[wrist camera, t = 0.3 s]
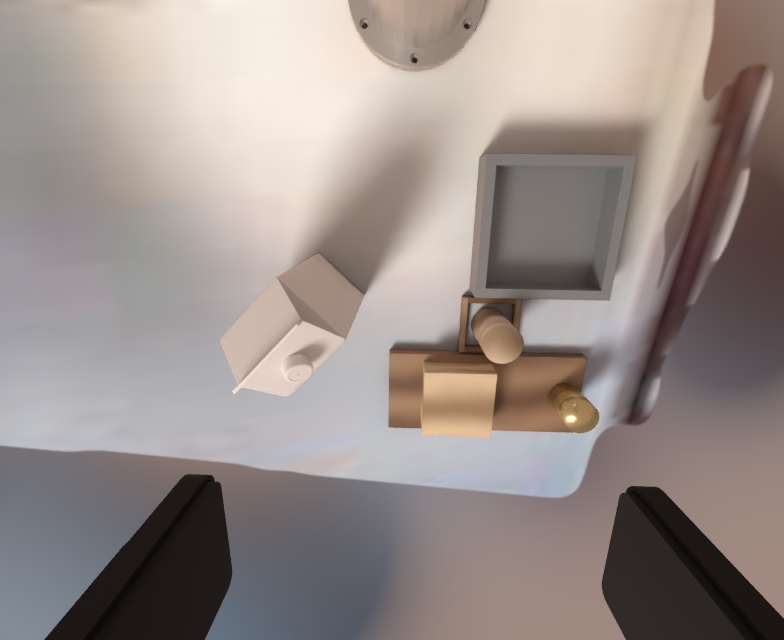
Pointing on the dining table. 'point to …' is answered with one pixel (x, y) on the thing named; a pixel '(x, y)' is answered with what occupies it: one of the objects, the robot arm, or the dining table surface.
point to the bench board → (513, 387)
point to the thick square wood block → (458, 399)
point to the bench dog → (573, 408)
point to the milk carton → (291, 327)
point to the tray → (549, 225)
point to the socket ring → (472, 299)
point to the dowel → (496, 336)
